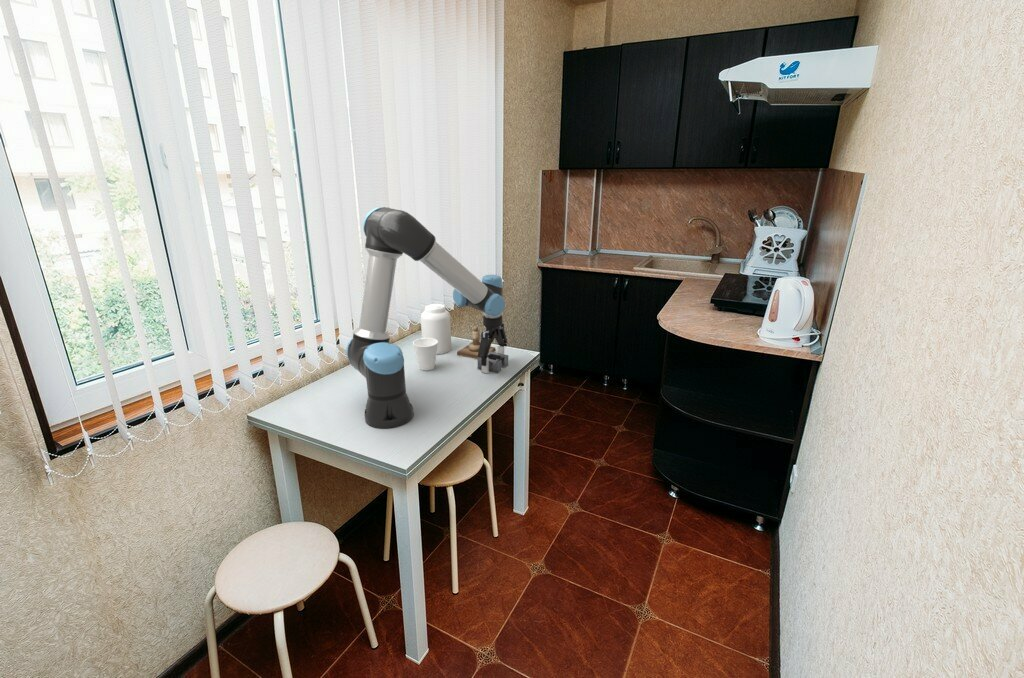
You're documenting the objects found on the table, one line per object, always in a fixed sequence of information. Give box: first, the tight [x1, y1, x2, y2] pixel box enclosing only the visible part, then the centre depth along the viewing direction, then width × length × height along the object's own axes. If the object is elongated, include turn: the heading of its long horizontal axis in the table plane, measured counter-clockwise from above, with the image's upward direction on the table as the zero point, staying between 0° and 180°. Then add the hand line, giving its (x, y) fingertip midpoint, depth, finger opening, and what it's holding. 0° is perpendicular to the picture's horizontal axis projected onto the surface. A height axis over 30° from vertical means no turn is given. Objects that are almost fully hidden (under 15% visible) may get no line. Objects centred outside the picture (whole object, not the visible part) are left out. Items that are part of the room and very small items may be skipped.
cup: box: [412, 337, 438, 371], centre depth 187 cm, size 10×10×11 cm
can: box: [420, 303, 452, 355], centre depth 204 cm, size 12×12×20 cm
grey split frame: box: [477, 351, 509, 374], centre depth 189 cm, size 9×9×4 cm
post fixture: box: [456, 325, 496, 360], centre depth 202 cm, size 12×12×12 cm
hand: (493, 366), depth 190 cm, fingers open, 12 cm apart
